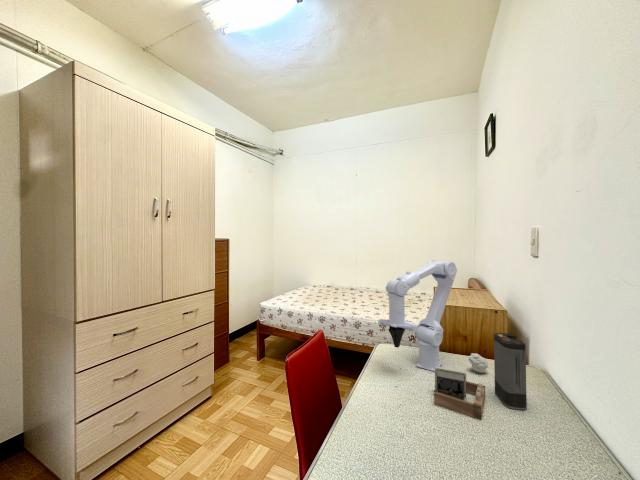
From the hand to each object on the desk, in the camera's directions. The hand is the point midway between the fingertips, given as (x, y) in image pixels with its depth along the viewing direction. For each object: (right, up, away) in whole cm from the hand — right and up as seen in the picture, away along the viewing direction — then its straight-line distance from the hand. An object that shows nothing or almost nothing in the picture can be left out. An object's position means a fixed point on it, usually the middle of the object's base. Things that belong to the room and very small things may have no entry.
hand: (397, 346), depth 100 cm
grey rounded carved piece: (+32, -11, +1) cm, 34 cm away
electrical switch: (+13, -10, -15) cm, 23 cm away
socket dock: (+15, -10, -17) cm, 25 cm away
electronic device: (+31, -10, -18) cm, 37 cm away
